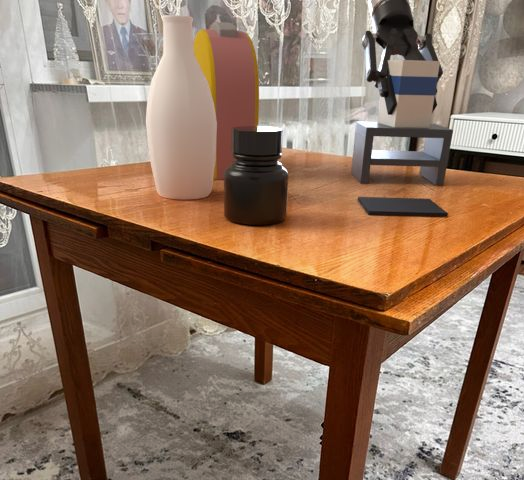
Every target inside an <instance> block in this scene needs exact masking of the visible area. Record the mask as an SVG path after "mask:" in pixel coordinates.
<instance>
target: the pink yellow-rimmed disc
mask: <svg viewBox="0 0 524 480" xmlns="http://www.w3.org/2000/svg"><path fill="white" fill-rule="evenodd" d="M195 34H196V35H195V37H194V39H193V45H194V55H195V57H196V59H197V61H198V63H199V65H200V67H201V69H202V71H203V73H204V75H205V77H206V79H207V81H208V84H209V88H210V91H211V95H212V98H213V102H214V108H215V114H216V121H217V133H216V161H215V169H214V176H213V180H224V172H225V170H226V168H227V167H228V166H230V165H231V163H232V162H233V161H235V158H233V157H232V128H233V127H239V126H259V120H260V119H259V117H260V77H259V65H258V58H257V52H256V49H255V45H254V43H253V40H252V39H251V37H250V35H249V34H248V33H247V32H245V31H242V30H237V28H236V26H235V25H234V24H233V23H232V22H223V21H214V22H213V23H212V24H211V25H210V27H209V28H208V29H207V28H206V29H205V28H202V29H199V30H198V32H197V33H195Z"/></svg>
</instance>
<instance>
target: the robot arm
mask: <svg viewBox="0 0 524 480" xmlns="http://www.w3.org/2000/svg"><path fill="white" fill-rule="evenodd" d="M367 3H368V7H369V14H370V17H371V24H372V29H373V33H372V31H370V30H366V31H365V32H364V35H363V37H362V40H361V46H362V48H363V50H364V59H365V62H364V63H365V78H366V79H365V80H366V81H367V82H368V83H372V82H375V83H374V87H375V88H376V89H378V92H379V97H380V96H381V97H384V98H385V103H386V108H387V112H388V115H392V113H393V111H394V110H395V108H396V106H397V101H396V96H395V92H394V87H393V82H392V78H391V75H387V77H386V74H387V70H388V65H389V64H388V60H391V57H392V56H401V57H402V58H403V60H415V61H440V60H439V57H438V56H437V53H436V51H435V47H434V45H433V35H432V34H431V33H428V32H427V33H426V34H425V36H423V35H421V34H420V35H419V34H418V32H417V31H416V29H415V25H414V17H413V12H412V8H411V4H410V0H367ZM376 44H377V45H378V46H379V47H380V48H381V49H382V54H381V60H380V63H379V67H377V65H378V64H377V50H376V49H377V48H376ZM441 65H442V64H440V65H439V72H438V81H437V84H438V83H439V81H440V79H441V78H442V76H443V74H444V70H443V68H442V66H441ZM437 87H438V86H437ZM437 87H436V93H435V97H434V103H433V109H432V114H433V113H434V111H435V110H436V108H437V107H438V102H437V98H436V95H437V94H438V88H437Z"/></svg>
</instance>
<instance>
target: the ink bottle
mask: <svg viewBox="0 0 524 480" xmlns="http://www.w3.org/2000/svg"><path fill="white" fill-rule="evenodd" d="M283 131H284V129H282V128H281V127H280V128H279V127H274V126H261V125H260V126H259V125H258V126H239V127H233V128H232V157H233V158H235V161H233V162H232V163H231V165H230V166H228V167H227V168H226V170H225V172H224V179H223V215H224V218H225V219H226V220H228V221H230V222H233V223H237V224H243V225H248V226H249V225H250V226H266V225H273V224H277V223H280V222H283V221H284V220H286V218H287V215H288V214H287V213H288V195H289V194H288V193H289V172H288V170H287V168H285V167H284V166H283V164H282V163H281V162H279V160H281V158H282V153H283V135H284V134H283V133H284V132H283Z"/></svg>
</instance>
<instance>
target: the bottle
mask: <svg viewBox="0 0 524 480" xmlns="http://www.w3.org/2000/svg"><path fill="white" fill-rule="evenodd" d="M161 21H162V36H163V37H162V56H161V58H160V61H159V63H158V65H157V67H156V69H155V72H154V74H153V76H152V79H151V81H150V86H149V90H148V95H147V100H146V113H145V127H146V128H145V129H146V136H147V137H146V138H147V145H148V146H147V147H148V154H149V161H150V167H151V171H152V176H153V181H154V186H155V190H156V193H157V195H159V197H161V198H165V199H169V200H179V201H180V200H182V201H184V200H186V201H187V200H188V201H189V200H199V199H204V198H208V197H209V195H210V194H211V193H212V191H213V183H214V179H213V176H214V169H215V161H216V133H217V121H216V114H215V108H214V102H213V98H212V95H211V91H210V88H209V84H208V81H207V79H206V77H205V75H204V73H203V71H202V69H201V67H200V65H199V63H198V61H197V59H196V57H195V55H194V45H193V43H194V34H193V33H194V32H193V31H194V30H193V22H194V17H192V16H189V15H177V14H165V15H164V14H163V15H161Z"/></svg>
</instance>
